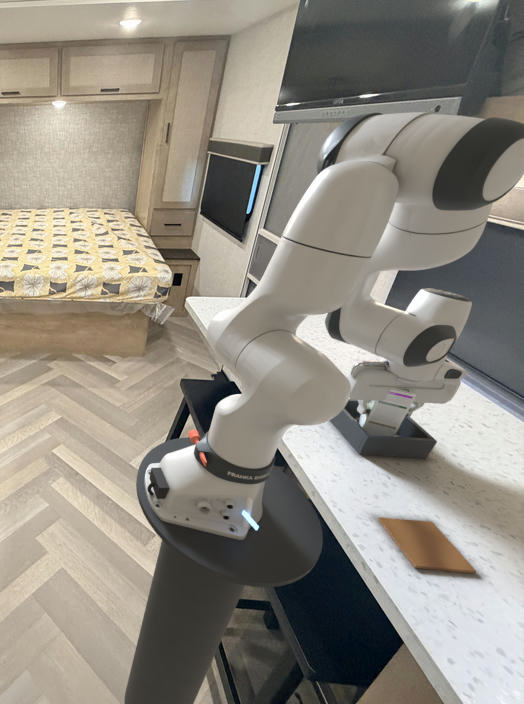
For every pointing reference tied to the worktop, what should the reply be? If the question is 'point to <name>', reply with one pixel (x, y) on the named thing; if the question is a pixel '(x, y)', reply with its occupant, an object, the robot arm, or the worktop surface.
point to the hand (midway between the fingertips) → (382, 413)
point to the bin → (407, 445)
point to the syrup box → (387, 413)
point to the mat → (425, 545)
